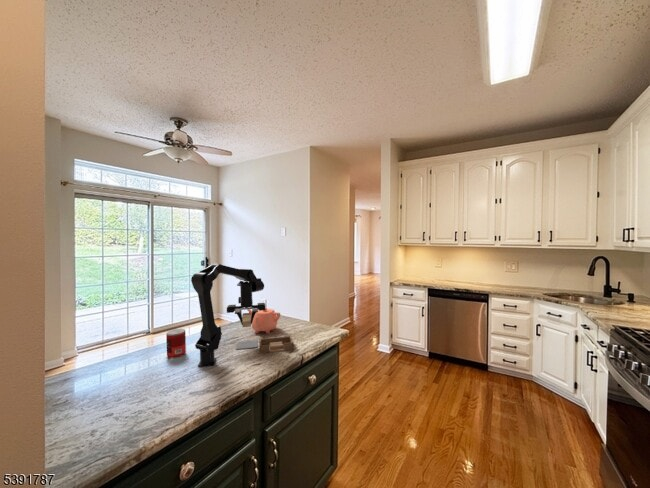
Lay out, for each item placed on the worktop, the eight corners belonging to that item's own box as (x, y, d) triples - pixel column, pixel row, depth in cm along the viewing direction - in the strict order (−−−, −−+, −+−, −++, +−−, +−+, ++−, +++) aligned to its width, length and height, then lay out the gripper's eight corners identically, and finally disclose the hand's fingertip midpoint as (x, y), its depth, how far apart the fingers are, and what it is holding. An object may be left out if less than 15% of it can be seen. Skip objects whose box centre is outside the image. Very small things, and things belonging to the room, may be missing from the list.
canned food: (189, 351, 131) (188, 328, 131) (178, 358, 123) (178, 334, 123) (174, 351, 132) (173, 328, 132) (163, 358, 124) (162, 334, 124)
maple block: (250, 326, 137) (250, 314, 137) (242, 327, 136) (242, 315, 136) (251, 324, 141) (250, 312, 141) (243, 325, 140) (242, 313, 140)
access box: (293, 349, 131) (293, 342, 131) (259, 353, 127) (259, 346, 127) (291, 342, 140) (291, 335, 140) (259, 345, 137) (259, 339, 137)
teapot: (256, 337, 150) (256, 312, 150) (246, 329, 164) (245, 307, 164) (282, 331, 159) (282, 308, 159) (271, 324, 173) (270, 303, 173)
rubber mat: (257, 347, 135) (257, 346, 135) (236, 349, 132) (236, 349, 132) (257, 340, 144) (257, 339, 144) (237, 342, 142) (237, 341, 142)
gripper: (264, 290, 148) (265, 318, 148) (228, 292, 144) (229, 321, 144) (265, 293, 137) (265, 324, 137) (226, 296, 133) (226, 327, 133)
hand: (246, 324), depth 138 cm, fingers closed on maple block, 4 cm apart
